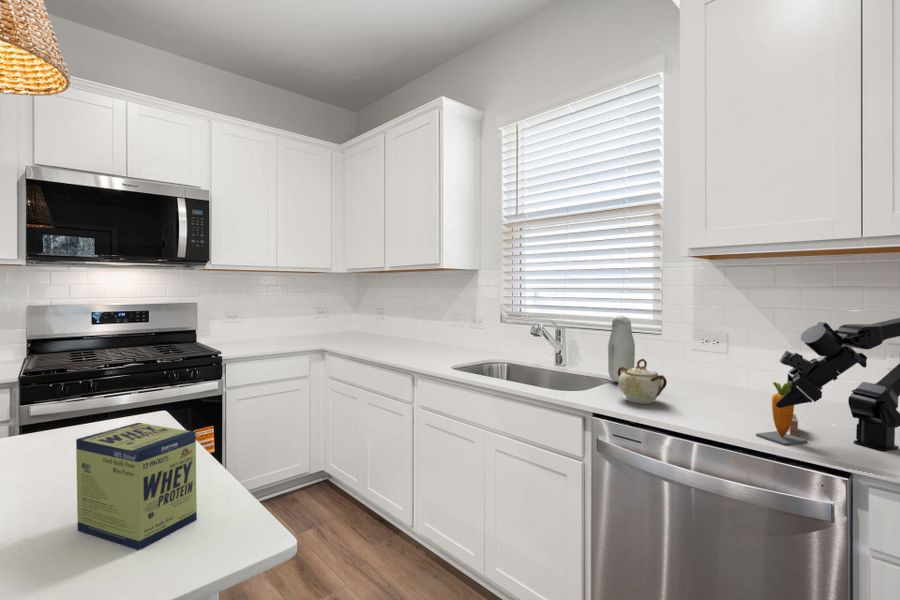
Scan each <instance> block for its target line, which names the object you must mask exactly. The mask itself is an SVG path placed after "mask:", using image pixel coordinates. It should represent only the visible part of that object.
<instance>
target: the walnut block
mask: <svg viewBox="0 0 900 600" xmlns="http://www.w3.org/2000/svg"><path fill="white" fill-rule="evenodd" d="M798 429H799V421H798V418H797V414H796V413H793V418H792V422H791V426H790V428H789V430H788V432H789V435H793V436H796V437H799V436H798V433H799V430H798Z"/></svg>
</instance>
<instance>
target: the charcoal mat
mask: <svg viewBox="0 0 900 600" xmlns="http://www.w3.org/2000/svg"><path fill="white" fill-rule="evenodd" d="M755 437H759V438H761V439H764V440H768V441H770V442H773V443H776V444H779V445H782V446H790V445H791V446H792V445H797V444H805V443H808V439H805V438H803V437H799V436H793V435H790V433H786V434H785V436H783V437H781V436H780V435H779V433H778V431H777V430H776V431H766V432H758V433H755Z"/></svg>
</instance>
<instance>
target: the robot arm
mask: <svg viewBox="0 0 900 600" xmlns="http://www.w3.org/2000/svg"><path fill="white" fill-rule="evenodd" d="M898 337H900V317H897V318H892V319H889V320H884V321H879V322H875V323H867V324H866V323H853V324H851V323H850V324H849V323H848V324H843V325H840V326H839V327H838V329H835V330H834V329H833V328H831V326H830V325H829V324H828V323H827V322H823V321H818V322H817V324H816V325H813V326H810V327H808V328H807V329H805V330H804V331H803V332H802V333H801V335H800V340H801V342H803V343H804V344H805V345H806V346H807V347H808V348H809V349H810V350H812V351H813V352H815V354H816V355H817V356H819V357H818V358H814V357H813V358H812V359H810V360H808V359H806V358H804V357H803V355H802V354H800V353H797V352H794V353H793V352H790V351H788V350H785V351H784V353H783V355H782V356H781V357H780V359H779V363H781V364H783V365H785V366H788V367H791V369H790V370H789V371H788V373H787V381H786V383H785V384H787V382H788V381H790V382H791V384H790V387H789V388H790V390H789V391H788V392H787V393H786V394H785V395H784V396H783V397H782V398H781V399H780V400H779V401H778V402H777V403H776V406H777V407H778V408H782V407H787V406H791V405H794V406H797V405H800V404H801V405H802V404H808V403H813V402H815V403H816V402H817V401H819V400H821V399H822V398H823V392H822V390H823V387H824V386H826V385H827V384H828V383H830V382H832V381H834V382H835V381H836V380H838V379H839V378H838V377H839V376H840V375H841V374H844V373H845V372H847V370H849V369H850V368H852V367H854V366H855V365H857V364H859V366H861V367H862V368H863V369H864V368H867V364H868V363H867V360H868V356H866V355H865V354H864V353H862V352H857V351H856V350H854V349H859V350H872V349H873V348H876V347H878V346H880V345H882V344H883V342H884V341H886V340H889V339H894V338H898ZM778 393H779V392H778V391H777V393H776V394H778ZM899 396H900V362H899V363H898V364H897V365H896V366H895V367H893V368H892V369H891V370H890V371H889V372H888V373H887V374H885V376H883V377H882V378H881V379H880V380H879V381H878V382H876V383H871V382H868V381H867V382H866V381H863V382H861V383H859V385H858V386H857V387H856V388H855V389H852V390H851V394H850V395H849V396H848V401H847V403H848V406H849V410H850V412H851V416H852V418H854V419H858V423H856V429H855V430H856V431H855V439H856V440H853V443H854V444H857V445H861V446H865V447H868V448H870V449H874V450H877V451H889V450H896V449H899V448H900V447H899V446H898V445H895V439H896V437H895V436H896V428H898V427H900V412H899V411H898V410H897V409H898V407H899Z"/></svg>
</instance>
